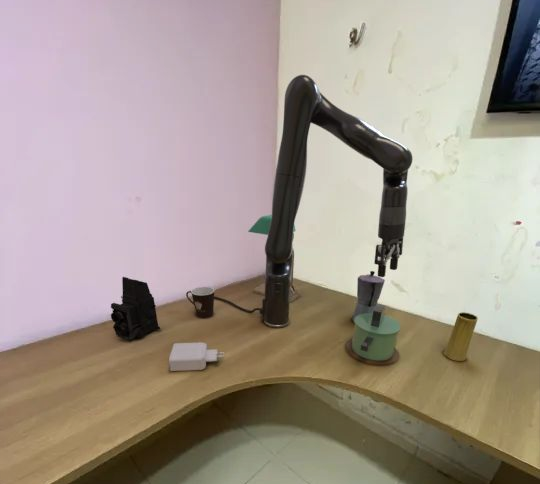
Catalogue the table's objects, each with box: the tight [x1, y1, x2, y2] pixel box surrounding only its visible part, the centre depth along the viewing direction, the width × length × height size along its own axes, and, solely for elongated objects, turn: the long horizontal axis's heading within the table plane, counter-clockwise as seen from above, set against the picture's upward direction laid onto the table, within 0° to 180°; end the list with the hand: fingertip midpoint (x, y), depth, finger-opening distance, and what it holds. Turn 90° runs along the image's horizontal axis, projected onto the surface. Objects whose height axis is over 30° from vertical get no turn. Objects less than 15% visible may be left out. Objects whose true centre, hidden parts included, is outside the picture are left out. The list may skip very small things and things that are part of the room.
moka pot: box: [351, 270, 386, 323], centre depth 114 cm, size 10×15×20 cm, turn 174°
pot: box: [351, 303, 402, 361], centre depth 94 cm, size 19×14×15 cm
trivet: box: [346, 338, 399, 367], centre depth 100 cm, size 16×16×1 cm
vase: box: [443, 311, 479, 362], centre depth 95 cm, size 6×6×14 cm
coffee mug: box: [185, 286, 215, 319], centre depth 120 cm, size 12×9×10 cm
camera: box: [110, 276, 161, 341], centre depth 102 cm, size 10×14×20 cm
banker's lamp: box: [247, 214, 301, 303], centre depth 135 cm, size 16×21×35 cm
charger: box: [168, 341, 225, 372], centre depth 92 cm, size 5×9×15 cm
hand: (387, 272), depth 100 cm, fingers open, 8 cm apart
